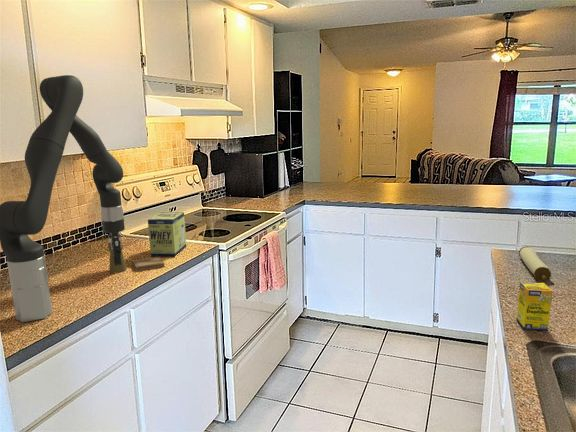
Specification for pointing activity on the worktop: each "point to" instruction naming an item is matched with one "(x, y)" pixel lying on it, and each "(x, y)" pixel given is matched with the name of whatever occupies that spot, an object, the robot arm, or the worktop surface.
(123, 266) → the cork
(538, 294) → the supplement box
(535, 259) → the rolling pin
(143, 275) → the worktop surface
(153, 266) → the brown square tray
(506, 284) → the worktop surface
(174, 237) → the protein box
